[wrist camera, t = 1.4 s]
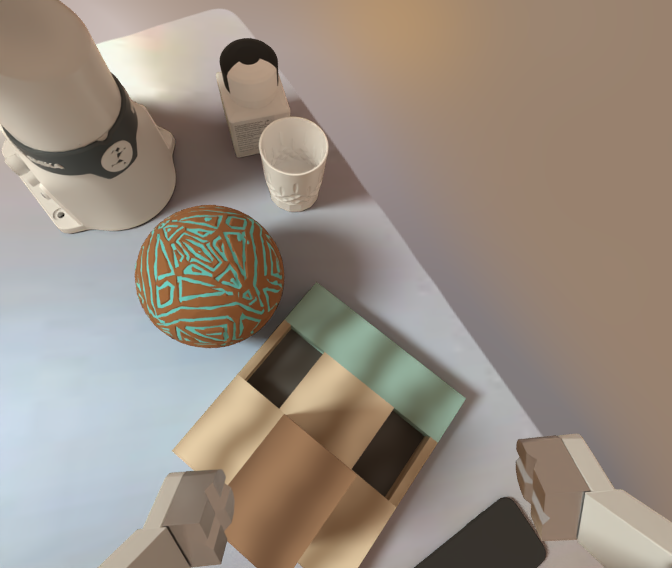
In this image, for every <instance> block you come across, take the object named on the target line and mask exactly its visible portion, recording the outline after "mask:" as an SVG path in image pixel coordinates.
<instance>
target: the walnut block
mask: <svg viewBox="0 0 672 568" xmlns="http://www.w3.org/2000/svg"><path fill="white" fill-rule="evenodd" d="M356 476H357V475H356V474H355V473H354V472H353V471H352V470H351V469H350V468H349V467H347V466H346V465H345V464H344V463H343V462H342V461H341V460H339V459H338V458H337V457H336V456H335V455H333V454H332V453H331V452H330V451H329V450H327V449H326V448H325V447H324V446H323V445H322V444H320V443H319V442H318V441H317V440H316V439H314V438H313V437H312V436H311V435H310V434H308V433H307V432H306V431H305V430H304V429H302V428H301V427H300V426H299V425H298V424H296V423H295V422H294V421H293V420H292V419H290V418H289V417H288V416H287V415H285V414H284V415H283V416H282V417H281V418H280V420H279V421H278V422H277V423H276V425H275V426H274V427H273V428H272V430H271V431H270V432H269V434H268V435H267V436H266V437H265V439H264V440H263V441H262V442H261V444H260V445H259V446H258V448H257V449H256V450H255V451H254V453H253V454H252V455H251V456H250V458H249V459H248V460H247V461H246V463H245V464H244V465H243V467H242V468H241V469H240V470H239V472H238V473H237V474H236V475H235V477H234V478H233V479H232V481H231V482H230V483H229V484H228V486H230V487H231V489H232V491H233V494H234V500H235V504H234V515H233V519H232V523H231V524H230V525H229V526H228V527H227V529H226V530H225V531H224V532H225V534H226V537H227V541H228V542H229V543H230V544H231V545H232V546H233V547H234V548H236V549H237V550H238V551H239V552H240V553H241V554H242V555H243V556H244V557H245V558H247V559H248V560H249V561H250V562H251V563H252V564H253V565H254V566H255V567H257V568H294V567H295V565H296V564H297V562H298V561H299V559H300V558H301V556H302V555H303V554H304V552H305V551H306V549H307V548H308V546H309V545H310V543H311V542H312V540H313V539H314V538H315V536H316V535H317V533H318V532H319V530H320V529H321V527H322V526H323V524H324V523H325V522H326V520H327V519H328V517H329V516H330V514H331V513H332V511H333V510H334V508H335V507H336V506H337V504H338V503H339V501H340V500H341V498H342V497H343V495H344V494H345V492H346V491H347V490H348V488H349V487H350V485H351V484H352V482H353V481H354V479H355V478H356Z"/></svg>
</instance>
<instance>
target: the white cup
mask: <svg viewBox="0 0 672 568" xmlns="http://www.w3.org/2000/svg"><path fill="white" fill-rule="evenodd" d="M328 149H329V146H328V140H327V137H326V135H325V133H324V132H323V130H322V129H321V128H320V127H319V126H318V125H317V124H315V123H314V122H312V121H310V120H308V119H305V118H301V117H284V118H280V119H277V120H275V121H273V122H272V123H270V124H269V125H268V126H267V127H266V128H265V129H264V131H263V132H262V134H261V136H260V140H259V150H260V155H261V160H262V165H263V170H264V175H265V179H266V182H267V186H268V188H269V192H270V195H271V199H272V201H273V202H274V203H275V204H276V205H277V206H278V207H279V208H281V209H284V210H286V211H289V212H301V211H303V210H305V209H308V208H310V207H311V206H312V205H313V204H314V202H315V201H316V200H317V198H318V193H319V189H320V186H321V183H322V179H323V175H324V170H325V165H326V160H327V155H328Z"/></svg>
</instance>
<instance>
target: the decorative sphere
mask: <svg viewBox="0 0 672 568" xmlns="http://www.w3.org/2000/svg"><path fill="white" fill-rule="evenodd" d="M135 283H136V290H137V295H138V299H139V301H140V303H141V305H142V308H144V311H145V313H146V314H147V316H148V317H149V318H150V320H151V321H152V322H153V324H154V325H155V326H156V327H157V328H159V329H160V330H161V331H162V332H164V333H165V334H166V335H168V336H169V337H171V338H172V339H176V340H177V341H179V342H181V343H184V344H187V345H190V346H195V347H203V348H219V347H225V346H230V345H233V344H236V343H238V342H241V341H243V340H245V339H247V338H248V337H250V336H252V335H253V334H255V333H256V332H257V331H259V330H260V329H261V328H262V327H263V326H264V325H265V324H266V323H267V322H268V321H269V319H270V318H271V317H272V315H273V314H274V312H275V310H276V309H277V306H278V304H279V302H280V299H281V296H282V291H283V286H284V268H283V262H282V258H281V255H280V252H279V250H278V247H277V245H276V243H275V242H274V241H273V239H272V238H271V236H270V235H269V234H268V232H267V231H266V230H265V229H264V227H262V226H261V224H259V223H258V222H257V221H255V220H254V219H253V218H251V217H250V216H248V215H246V214H244V213H242V212H240V211H238V210H235V209H232V208H228V207H224V206H216V205H201V206H195V207H191V208H187V209H183V210H181V211H179V212H176V213H174V214H173V215H171V216H169V217H168V218H166V219H164V221H162V222H160V223H159V224H158V225H157V226H156V227H155V228H154V230H153V231H152V232H151V233H150V234H149V235H148V238H146V240H145V242H144V243H143V245H142V246H141V250H140V252H139V255H138V259H137V262H136V266H135Z"/></svg>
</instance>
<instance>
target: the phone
mask: <svg viewBox="0 0 672 568" xmlns="http://www.w3.org/2000/svg"><path fill="white" fill-rule="evenodd" d="M545 556H546V551H545V548H544V546H543V544H542V543H541V541H540V540H539V538H538V537H537V535H536V534H535V532H534V531H533V529H532V528H531V526H530V525H529V523H528V522H527V520H526V519H525V517H524V516H523V514H522V513H521V511H520V510H519V508H518V507H517V505H516V504H515V503H514V501H512V500H511V499H509V498H506V497H504V498H500V499H499V500H497V501H496V502H495V503H494V504H492V505H491V506H490V507H489V508H487V509H486V510H485V511H483V512H482V513H480V514H479V515H478V516H477V517H476V518H475V519H473V520H472V521H470V522H469V523H468V524H467V525H466V526H465V527H464V528H463V529H461V530H460V531H459V532H458V533H456V534H455V535H454V536H453V537H451V538H450V539H449V540H448V541H447V542H445V543H444V544H443V545H442V546H440V547H439V548H438V549H437V550H435V551H434V552H433V553H432V554H430V555H429V556H428V557H427V558H425V559H424V560H423V561H422V562H421V563H419V564H418V565H417V566H416V567H414V568H537V567H538V566H539V565H540V564H541V563H542V562H543V561H544V559H545Z"/></svg>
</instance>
